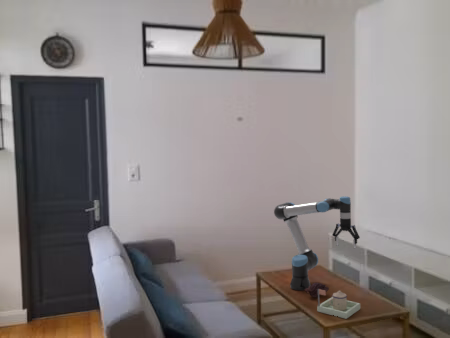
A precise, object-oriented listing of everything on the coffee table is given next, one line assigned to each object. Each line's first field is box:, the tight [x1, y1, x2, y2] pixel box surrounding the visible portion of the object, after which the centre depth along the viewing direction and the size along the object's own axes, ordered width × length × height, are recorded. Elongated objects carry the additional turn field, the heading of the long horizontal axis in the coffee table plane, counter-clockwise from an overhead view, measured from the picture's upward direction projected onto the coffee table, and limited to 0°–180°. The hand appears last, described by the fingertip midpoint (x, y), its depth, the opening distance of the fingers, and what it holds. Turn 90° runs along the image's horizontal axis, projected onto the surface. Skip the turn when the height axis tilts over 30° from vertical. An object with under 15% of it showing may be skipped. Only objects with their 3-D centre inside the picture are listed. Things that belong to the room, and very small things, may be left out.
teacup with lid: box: [329, 290, 348, 311], centre depth 283 cm, size 12×9×12 cm
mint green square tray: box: [316, 289, 361, 320], centre depth 282 cm, size 20×20×14 cm
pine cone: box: [304, 282, 330, 298], centre depth 308 cm, size 18×10×10 cm, turn 101°
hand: (346, 246), depth 318 cm, fingers open, 13 cm apart
